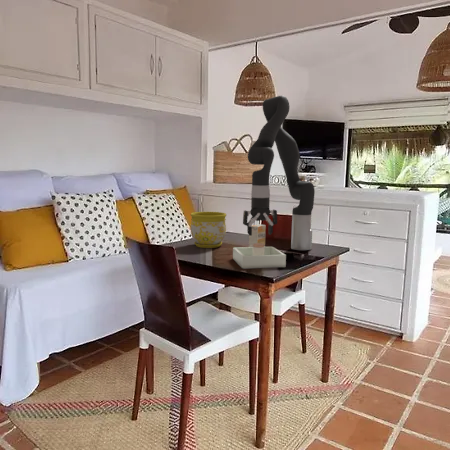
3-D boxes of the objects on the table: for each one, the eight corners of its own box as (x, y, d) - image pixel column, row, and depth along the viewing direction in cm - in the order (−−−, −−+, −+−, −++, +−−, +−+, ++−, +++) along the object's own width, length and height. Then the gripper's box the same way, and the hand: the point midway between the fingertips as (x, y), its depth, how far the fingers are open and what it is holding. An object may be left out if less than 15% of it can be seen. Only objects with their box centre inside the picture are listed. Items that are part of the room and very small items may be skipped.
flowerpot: (229, 248, 210) (230, 215, 207) (193, 249, 206) (193, 216, 203) (221, 241, 227) (221, 211, 225) (187, 243, 223) (187, 211, 220)
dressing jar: (262, 258, 183) (262, 242, 182) (265, 261, 178) (266, 245, 177) (251, 259, 182) (251, 243, 181) (254, 261, 177) (254, 245, 176)
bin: (272, 257, 191) (272, 246, 190) (285, 267, 173) (285, 255, 173) (232, 258, 187) (233, 247, 187) (242, 268, 170) (242, 256, 169)
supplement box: (257, 254, 196) (258, 226, 194) (248, 253, 199) (248, 225, 197) (265, 251, 203) (266, 224, 201) (256, 250, 206) (257, 223, 204)
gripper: (274, 195, 181) (273, 232, 184) (241, 195, 178) (241, 234, 181) (279, 196, 174) (279, 235, 176) (246, 197, 171) (245, 237, 174)
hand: (260, 234), depth 179 cm, fingers open, 8 cm apart
